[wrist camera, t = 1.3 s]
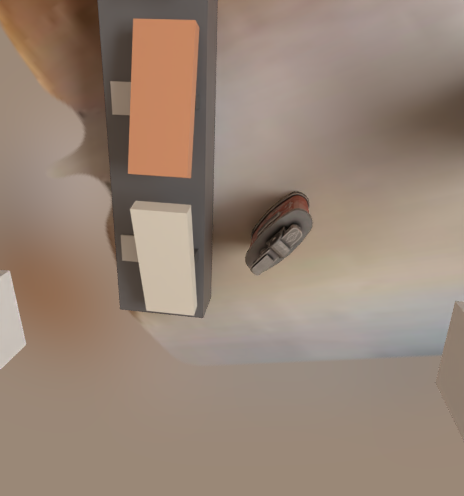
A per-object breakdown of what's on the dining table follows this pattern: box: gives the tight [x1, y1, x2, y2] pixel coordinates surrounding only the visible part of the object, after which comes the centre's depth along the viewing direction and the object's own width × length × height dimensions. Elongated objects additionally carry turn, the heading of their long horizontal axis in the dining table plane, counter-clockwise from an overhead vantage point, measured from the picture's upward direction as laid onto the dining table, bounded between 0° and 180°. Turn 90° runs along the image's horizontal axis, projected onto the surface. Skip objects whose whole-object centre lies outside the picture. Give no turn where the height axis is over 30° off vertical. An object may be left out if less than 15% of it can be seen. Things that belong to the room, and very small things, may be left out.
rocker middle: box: [128, 19, 199, 178], centre depth 36 cm, size 13×5×2 cm, turn 178°
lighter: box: [245, 192, 312, 275], centre depth 42 cm, size 8×3×10 cm, turn 137°
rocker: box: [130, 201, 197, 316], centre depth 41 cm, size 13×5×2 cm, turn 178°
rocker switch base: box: [98, 0, 218, 318], centre depth 39 cm, size 50×10×7 cm, turn 178°
